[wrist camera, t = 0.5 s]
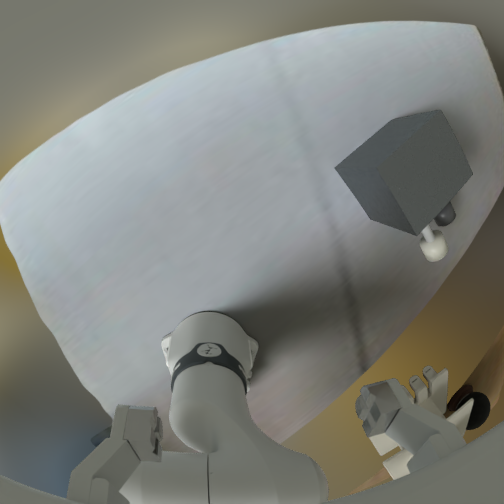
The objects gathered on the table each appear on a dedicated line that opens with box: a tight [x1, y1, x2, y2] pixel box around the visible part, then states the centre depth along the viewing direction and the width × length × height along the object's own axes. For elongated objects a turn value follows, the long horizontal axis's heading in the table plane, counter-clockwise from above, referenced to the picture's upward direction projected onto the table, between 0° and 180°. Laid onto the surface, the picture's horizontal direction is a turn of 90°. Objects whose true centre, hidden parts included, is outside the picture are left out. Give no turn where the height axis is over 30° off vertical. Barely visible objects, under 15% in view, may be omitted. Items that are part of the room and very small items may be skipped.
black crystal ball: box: [448, 384, 490, 430], centre depth 66 cm, size 13×13×15 cm
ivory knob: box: [419, 224, 448, 262], centre depth 43 cm, size 10×5×5 cm, turn 40°
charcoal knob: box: [434, 201, 456, 226], centre depth 47 cm, size 10×5×5 cm, turn 40°
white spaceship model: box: [369, 366, 474, 480], centre depth 56 cm, size 26×31×35 cm
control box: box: [335, 110, 473, 236], centre depth 43 cm, size 12×16×15 cm
